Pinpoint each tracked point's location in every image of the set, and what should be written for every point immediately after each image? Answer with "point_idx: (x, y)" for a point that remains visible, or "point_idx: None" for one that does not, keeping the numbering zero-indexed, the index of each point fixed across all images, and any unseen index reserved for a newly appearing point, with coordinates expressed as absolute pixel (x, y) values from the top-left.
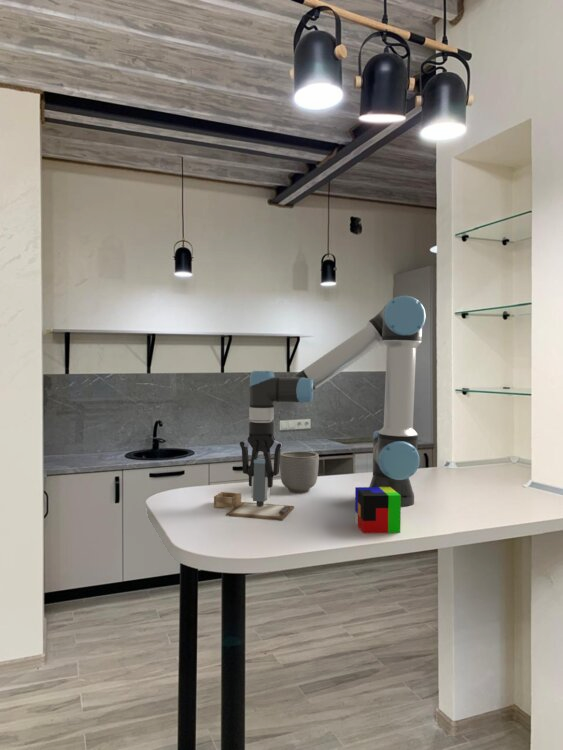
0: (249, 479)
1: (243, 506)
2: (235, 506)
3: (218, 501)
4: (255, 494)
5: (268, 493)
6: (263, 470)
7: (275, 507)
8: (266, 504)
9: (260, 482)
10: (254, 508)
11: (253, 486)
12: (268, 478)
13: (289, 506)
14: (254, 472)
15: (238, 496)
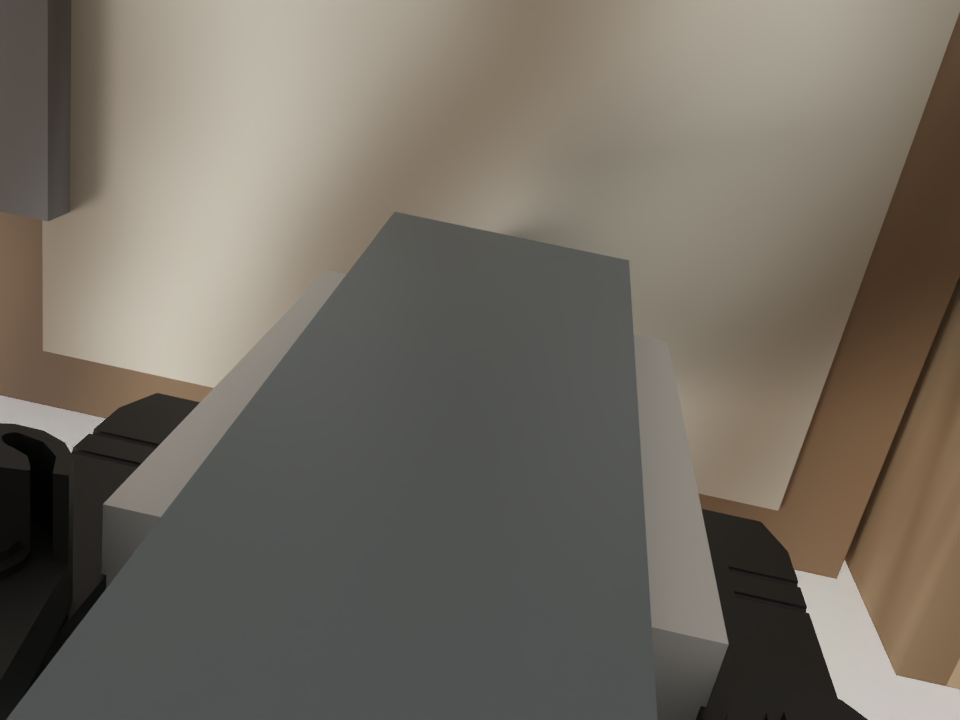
0: (795, 642)
1: (805, 282)
2: (958, 306)
3: None
4: (573, 297)
5: None
6: (110, 705)
7: (231, 264)
8: None
9: (398, 417)
10: (589, 161)
11: (633, 397)
12: (101, 538)
13: (34, 359)
14: (618, 711)
15: (950, 519)
